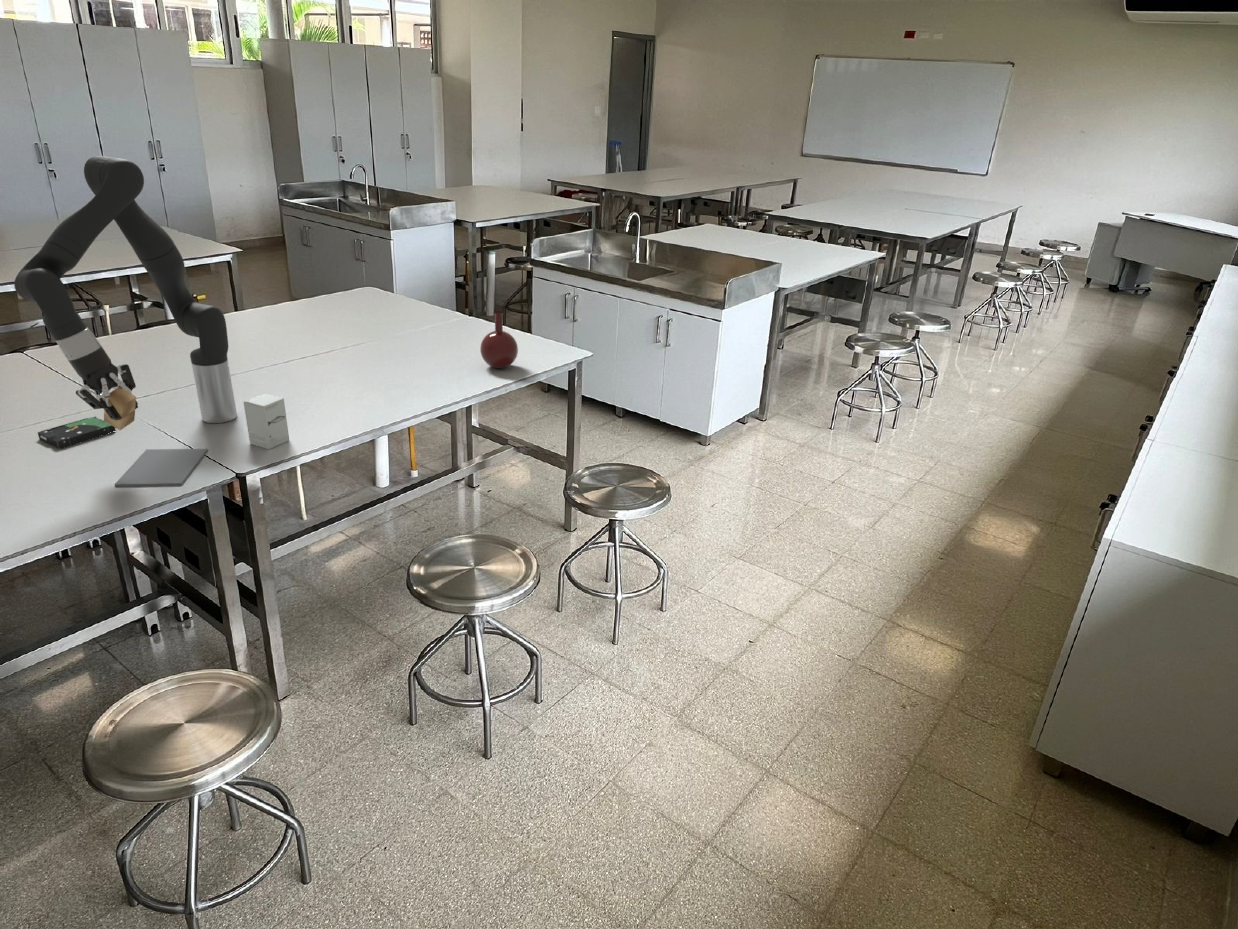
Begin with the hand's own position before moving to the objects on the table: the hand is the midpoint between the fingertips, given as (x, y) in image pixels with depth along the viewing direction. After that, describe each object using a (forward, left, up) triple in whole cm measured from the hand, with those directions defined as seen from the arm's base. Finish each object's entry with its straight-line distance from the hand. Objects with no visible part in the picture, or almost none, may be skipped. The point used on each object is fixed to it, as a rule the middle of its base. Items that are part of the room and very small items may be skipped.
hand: (126, 413), depth 192 cm
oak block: (-2, -3, -3) cm, 5 cm away
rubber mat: (0, +6, -15) cm, 16 cm away
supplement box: (-15, +28, -15) cm, 35 cm away
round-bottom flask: (-78, +91, -15) cm, 121 cm away
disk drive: (-21, -23, -16) cm, 35 cm away
